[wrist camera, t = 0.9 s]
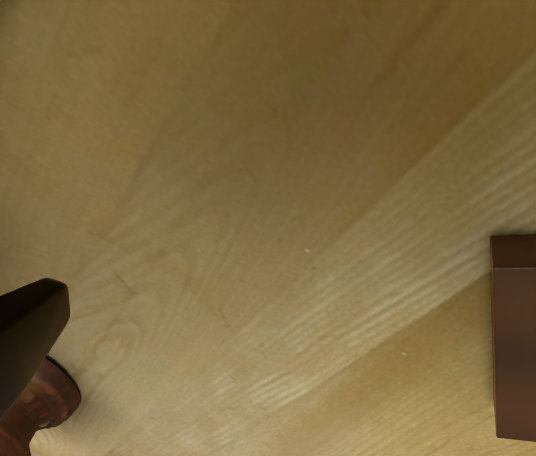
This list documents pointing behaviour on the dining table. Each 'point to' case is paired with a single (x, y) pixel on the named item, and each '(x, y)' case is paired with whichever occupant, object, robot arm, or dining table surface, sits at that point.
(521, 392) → the stick
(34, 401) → the mortar and pestle
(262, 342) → the dining table surface
